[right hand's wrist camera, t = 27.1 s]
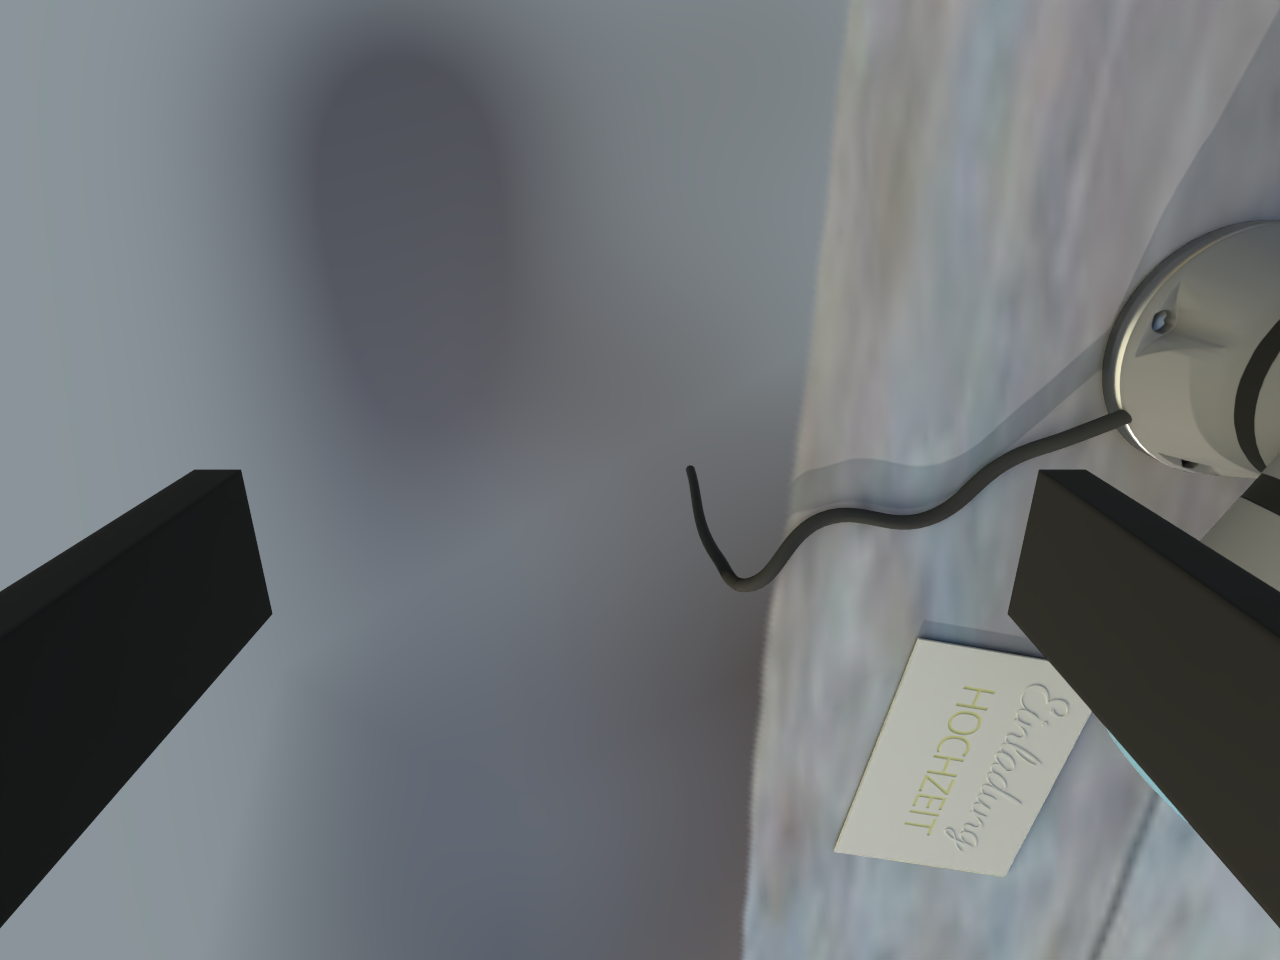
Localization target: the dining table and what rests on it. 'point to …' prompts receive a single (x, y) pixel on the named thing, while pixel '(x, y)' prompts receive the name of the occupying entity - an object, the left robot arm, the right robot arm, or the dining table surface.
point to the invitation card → (963, 759)
